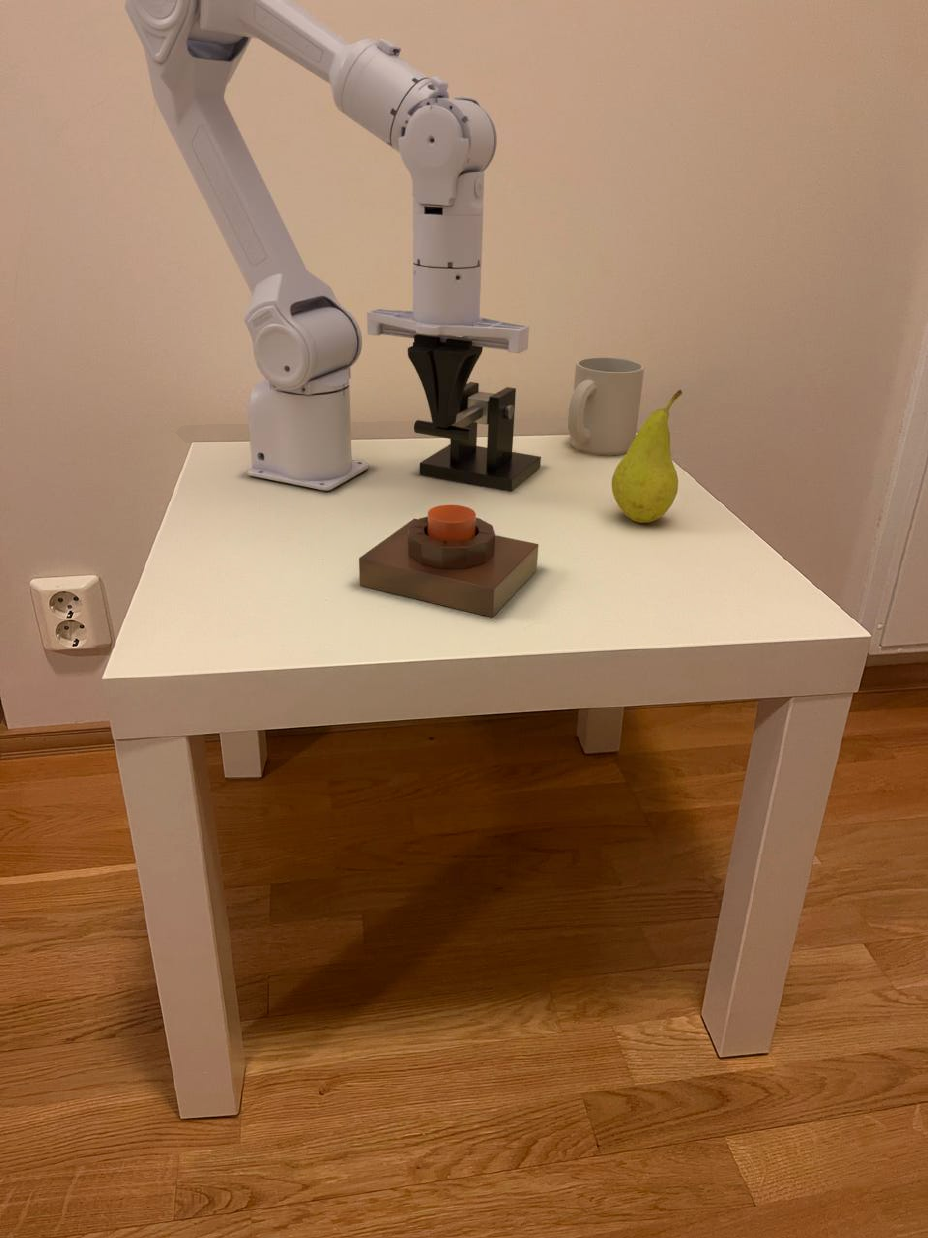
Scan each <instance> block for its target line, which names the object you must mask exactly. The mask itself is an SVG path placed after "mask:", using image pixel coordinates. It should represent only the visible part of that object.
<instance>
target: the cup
mask: <svg viewBox="0 0 928 1238" xmlns="http://www.w3.org/2000/svg"><path fill="white" fill-rule="evenodd" d="M574 373H575V374H574V384H573V386H574V387H573V393H572V396H571V399H570V402H569V406H568V407H569V408H568V415H567V423H568V424H567V426H568V427H567V428H568V432H569V443H570V445H571V446H572V447H573V449H575V450H577V451H579V452H582V453H585V454H590V455H596V456H619V455H626V453H627V451H628V449H629V448H630V446H631V444H632V442H633V441H634V439H635V437H636V435H637V432H638V431H637V430H638V423H639V414H640V412H639V411H640V407H641V406H640V405H641V398H642V390H643V389H642V388H643V382H644V373H645V366H644V364H643V363H641V362H637V361H636V360H630V359H626V358H618V357H604V356H601V357H599V356H598V357H587V358H581V359H579V360H577V361H576V362H575V372H574Z"/></svg>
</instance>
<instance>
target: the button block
mask: <svg viewBox="0 0 928 1238" xmlns="http://www.w3.org/2000/svg"><path fill="white" fill-rule="evenodd" d="M539 546H540V545H539V544H538V543H535V542H531V541H526V540H521V539H520V540H519V539H516V538H511V537H506V536H502V535H497V534H496V532H495V530H494V526H493V525H492V524H491V523H489V522H487V521H485V520H483V519H482V518H480V517H476V524H475V537H474V538H473V539H469V540H465V541H442V540H437V539H432V538H431V537H429V536H428V516H424V517H419V518H413V519H412V520H410V521H409V522H407V523H406V524H404V525H403V526H401V527H400V528H399V529H397V530H396V531H395V532H394V533H391V534H390V535H389V536H388V537H386V538H385V539H384V540H382V541H381V542H379V543H378V544H376V546H374V547H372V548H371V549H369V550H368V551H366V553H364V554H363V555H361V556H360V557H358V575H359V577H358V578H359V586H361V587H365V588H369V589H372V590H373V589H374V590H377V591H381V592H384V593H385V592H386V593H389V594H393V595H398V596H402V597H406V598H411V599H415V600H419V601H422V602H423V601H424V602H427V603H431V604H435V605H440V606H444V607H448V608H452V609H456V610H460V611H465V612H467V613H468V612H469V613H473V614H477V615H481V616H485V617H490V618H493V617H495V615H496V614H497V613H498V612H499V611H500V610H501V609H502V608H503V607H504V606H505V605H506V603H508V601H510V599H512V597H513V596H514V595H515V594H516V593H517V592H518V591H519V590H520V589H521V588H522V586H524V584H525V583H526V582H527V581H528V580H529V579H530V578H531V577H532V576H533V575H534V574H535V573H536V571H538V557H539Z"/></svg>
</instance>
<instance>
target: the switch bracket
mask: <svg viewBox="0 0 928 1238" xmlns="http://www.w3.org/2000/svg"><path fill="white" fill-rule="evenodd" d="M479 390H480V384H479V382H475V381H474V382H473V381H469V382H467V383H466V386H465V389H464V391H463V394H462V398H461V401H460V404H459V408H458V413H457V414H459V413H460V412H462V411H464V410H466V409H468V397H470V396H472V395H474V394H476V393H478V392H480V391H479ZM493 394H494V395H492V396H490V397H489V419H488V425H487V442H486V443H487V445H486V446H481V445H478V444H477V443H478V423H471V424H470V425H468V426H466V427H465V428H471V429H473V439H472V441H471V442H466V441H460V440H454V439H449V440H450V442H449V443H450V444H448V445H446V446H445V447H443V448H441V449H440V450H438V451H436V452H435V453H433V454H431V455H430V456H428V457H427V458H425V459H424V460H422V461H420V462H419V475H422V476H427V477H433V478H438V479H444V480H449V481H454V482H460V483H465V484H470V485H475V486H480V487H486V488H492V489H497V490H503V491H507V492H512V491H514V490H515V489H516V488H518V486H520V485H521V484H523V482H524V481H526V480H527V479H528V478H530V477H531V476H532V475H533V474H534V473H535V472H537V471H538V470H539V469H541V462H542V456H538V455H533V454H529V453H528V454H527V453H521V452H515V451H513V447H514V429H515V411H516V396H517V395H516V394H517V388H515V387H510V386H506V387H504V388H503V389H501V390H499V391H497V392H496V393H493Z"/></svg>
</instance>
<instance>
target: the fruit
mask: <svg viewBox="0 0 928 1238" xmlns="http://www.w3.org/2000/svg"><path fill="white" fill-rule="evenodd" d="M682 394H683V391H682V389H678V390H677V391H676V392H675V393H674V394H673V395H672V397H671V399H670V401H669V402H668V403H667V405H666V406H665V407H664V408H658V409H656V410H654V411H652V413H650V415H649V416H648V417H646V419H645V420H644V422H643V424H642V425H641V426H640V428H639V430H638V431H637V432H636V437H635V439H634V441H633V442H632V444H631V446H630V448H629V449H628V451H627V453H625V454H624V455H623V457H622V458H621V460H620V461H619V463H618V464H617V465H616V467H615V469H614V472H613V475H612V477H611V491H612V495H613V499H614V500H615V503H616V504H617V506H618V507H619V509H620V510H621V511H622V513H623V514H624V515H625V516H626V517H627V518H629V520H631V521H633V522H634V523H638V524H648V523H652V522H654V521H656V520H659V519H660V518H662V516H663V515H665V514H666V513H667V512H668V511H669V509H670V508H671V506H672V505H673V503H674V501H675V499H676V496H677V494H678V489H679V477H678V473H677V470H676V467H675V465H674V463H673V459H672V455H671V433H670V427H669V417H670V413H669V411H670V408H671V407H672V405H673V404H674V402H675V401H676V400H677V399H679V397H680V396H681V395H682Z"/></svg>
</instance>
